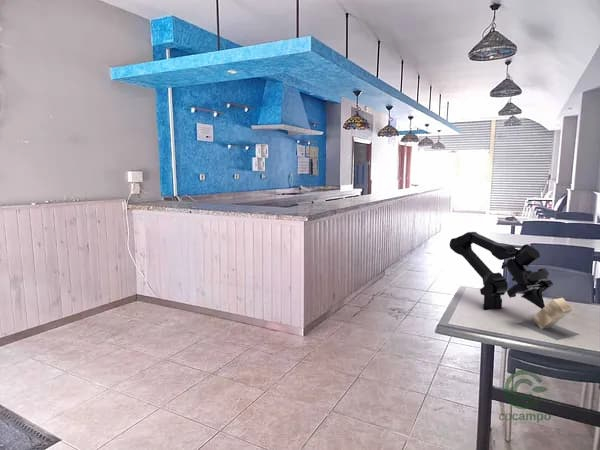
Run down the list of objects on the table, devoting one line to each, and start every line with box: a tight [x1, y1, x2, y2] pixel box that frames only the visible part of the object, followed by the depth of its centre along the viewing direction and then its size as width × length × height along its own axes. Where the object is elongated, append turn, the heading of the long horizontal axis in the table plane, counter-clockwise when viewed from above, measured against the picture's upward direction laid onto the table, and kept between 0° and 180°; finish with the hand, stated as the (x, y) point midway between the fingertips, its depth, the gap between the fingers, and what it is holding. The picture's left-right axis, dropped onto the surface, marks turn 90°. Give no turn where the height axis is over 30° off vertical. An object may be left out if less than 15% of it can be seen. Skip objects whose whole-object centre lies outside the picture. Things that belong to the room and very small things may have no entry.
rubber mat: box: [516, 319, 581, 341], centre depth 146 cm, size 16×12×1 cm
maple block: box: [531, 297, 573, 329], centre depth 144 cm, size 5×5×12 cm
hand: (543, 308), depth 146 cm, fingers closed
